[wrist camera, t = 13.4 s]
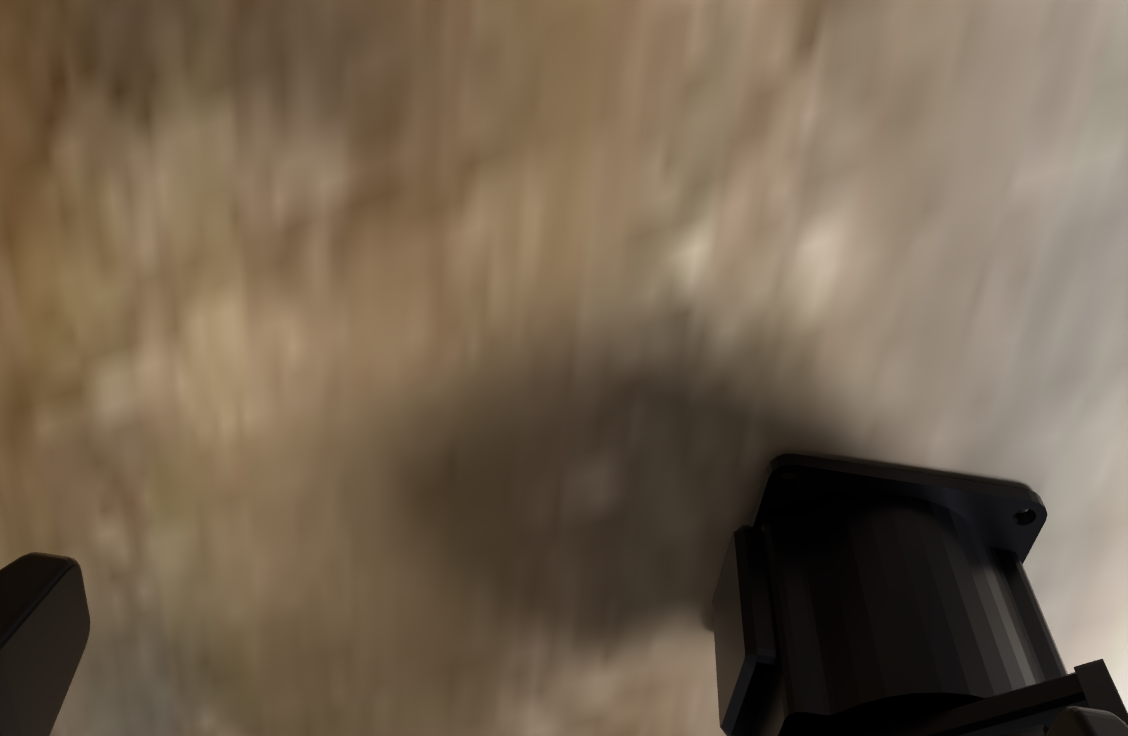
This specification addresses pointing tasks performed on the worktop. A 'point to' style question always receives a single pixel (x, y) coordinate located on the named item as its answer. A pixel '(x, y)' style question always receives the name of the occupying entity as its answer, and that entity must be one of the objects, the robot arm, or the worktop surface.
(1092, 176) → the worktop surface
